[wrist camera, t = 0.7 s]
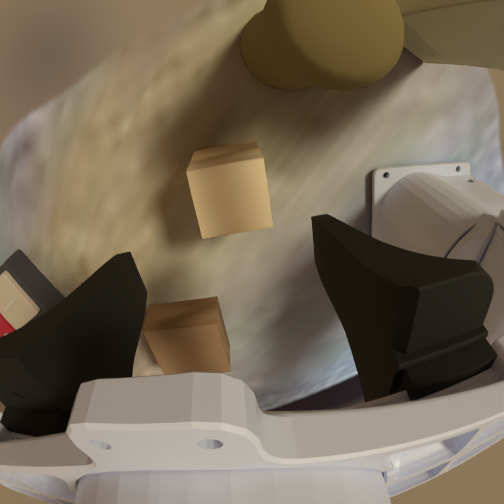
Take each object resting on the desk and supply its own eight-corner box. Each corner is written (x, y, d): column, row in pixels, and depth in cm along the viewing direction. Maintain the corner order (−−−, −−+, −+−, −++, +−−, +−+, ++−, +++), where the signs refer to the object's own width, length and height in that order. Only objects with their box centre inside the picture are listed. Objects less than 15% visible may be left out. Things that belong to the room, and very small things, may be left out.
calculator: (-1, 266, 20) (118, 384, 26) (24, 242, 23) (128, 352, 30) (-36, 314, 22) (60, 406, 28) (-16, 291, 26) (71, 379, 32)
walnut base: (217, 294, 27) (216, 323, 24) (229, 342, 30) (230, 371, 27) (149, 303, 27) (142, 331, 24) (169, 349, 30) (165, 377, 27)
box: (443, 24, 16) (582, 28, 5) (423, 65, 17) (567, 90, 6) (389, -20, 14) (521, -60, 3) (365, 22, 16) (505, -5, 5)
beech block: (255, 139, 20) (263, 157, 16) (263, 195, 22) (273, 227, 18) (194, 150, 20) (186, 171, 16) (207, 205, 22) (202, 238, 18)
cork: (348, 71, 18) (451, 78, 8) (266, 105, 19) (308, 134, 9) (309, -7, 15) (383, -68, 5) (223, 26, 16) (219, -28, 7)
